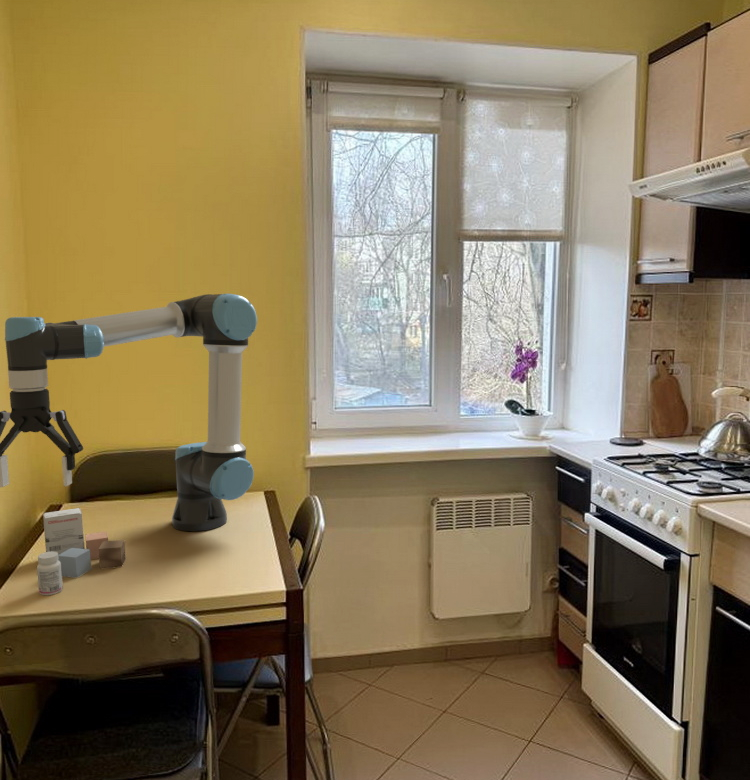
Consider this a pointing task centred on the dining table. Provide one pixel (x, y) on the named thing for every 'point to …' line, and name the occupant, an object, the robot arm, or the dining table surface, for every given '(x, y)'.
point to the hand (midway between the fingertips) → (36, 485)
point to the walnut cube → (112, 554)
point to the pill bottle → (49, 573)
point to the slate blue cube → (75, 562)
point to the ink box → (63, 530)
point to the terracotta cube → (95, 543)
